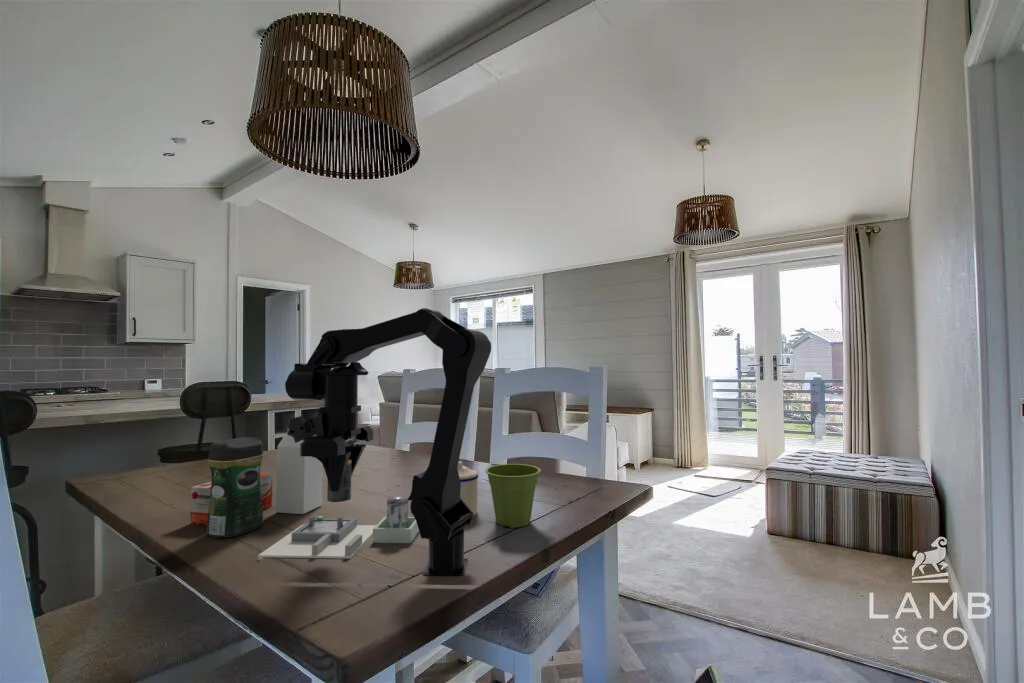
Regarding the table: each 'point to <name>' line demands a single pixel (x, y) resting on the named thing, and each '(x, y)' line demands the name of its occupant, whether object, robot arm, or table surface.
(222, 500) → the coffee jar
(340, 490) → the cell
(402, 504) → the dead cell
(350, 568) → the table surface
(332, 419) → the robot arm
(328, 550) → the white square base board
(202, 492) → the medicine box
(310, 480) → the milk carton
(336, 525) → the cradle
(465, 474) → the teacup with lid
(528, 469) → the plant pot
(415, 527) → the cup
